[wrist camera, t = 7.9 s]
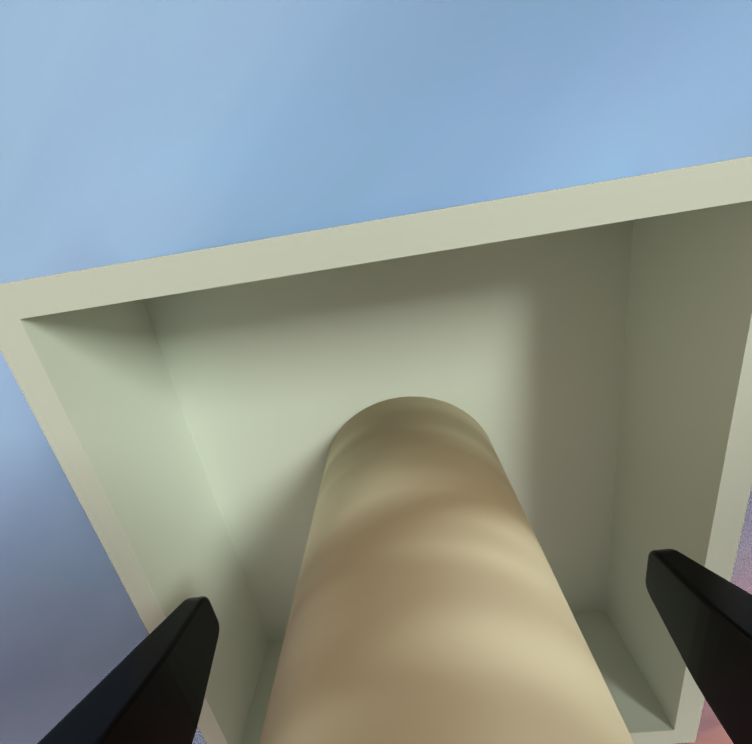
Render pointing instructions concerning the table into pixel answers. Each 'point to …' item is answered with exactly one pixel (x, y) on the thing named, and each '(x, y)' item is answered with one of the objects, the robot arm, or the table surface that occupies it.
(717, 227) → the bin
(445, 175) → the table surface
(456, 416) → the beige rounded cylinder
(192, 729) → the robot arm
